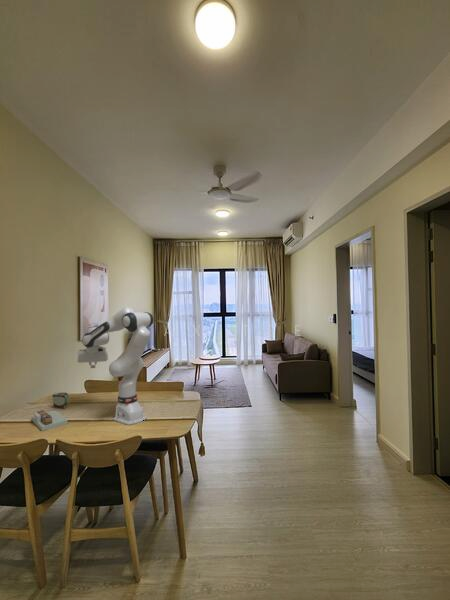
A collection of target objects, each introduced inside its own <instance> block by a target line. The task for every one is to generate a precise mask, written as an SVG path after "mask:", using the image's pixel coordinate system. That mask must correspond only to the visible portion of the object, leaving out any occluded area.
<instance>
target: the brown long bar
mask: <svg viewBox="0 0 450 600" xmlns="http://www.w3.org/2000/svg"><path fill="white" fill-rule="evenodd" d="M36 413H39V414H40V415H41V421H42V422H43V423H44V424H46V425H47V424H50V423H52V417H51V416H50V415H49V414H48V413H47V411H45V410H44V409H42V410H39V411H37V412H36Z"/></svg>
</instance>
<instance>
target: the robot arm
mask: <svg viewBox="0 0 450 600" xmlns="http://www.w3.org/2000/svg"><path fill="white" fill-rule="evenodd" d="M153 324H154V316H153V314H152V313H150V312H148V311H147V312H146V311H135V309H134V308H132V307H129V306H126V307H124V308H122V309H121V310H119V311H118V312H116V314H114V315H113V316H112V317H110V318H109V319H107V320H106V321H105V322H102V324H100V325H98V326H91V327H88V328H87V329H86V332H85V333H84V334H83V336H82V338H81V342H82V345H83V346H84V347H85V349H78V350H77V353H76V355H77V363H79V364H80V363H81V364H82V363H83V364H84V363H88V365H89V366H90V369H96V365H97V363H100V362H102V363H103V362H107V361H108V359H109V356H108V351H107V347H105V345H107V344H108V343H109V341H110V334H109V333H113V332H119V331H122V330H124V329H126V330H128V332H129V333H132V336H131V338H130V340H129V342H128V344H127V345H126V348H125V349H124V351H123V352H122V353H121V354H120V355H119V356H118V357H117V358H116V359H115V360H113V361H112V362H111V363H110V364H109V366H108V371H109V374H110V375H111V377H113V378H117V377H118V378H119V377H122V379H121V380H120V382H119V383H118V395H117V405H116V406H115V416H114V418H113V421H114V422H115V421H116V422H118V423H121V424H124V425H128V426H129V425H136V424H139V423H142V422H144V421H146V420H147V419H148V417H147V415H145V414H144V406H141V404H140V403H139V401H138V399H139V397H138V395H137V380H138V378H139V374H140V372H141V371H142V370H143V368H144V365H145V363H144V359H143V358H142V356H143V354H144V353H145V350H146V348H147V345H148V344H149V340H150V338H151V331H150V330H149V329H148V328H150V327H151V326H152V325H153ZM92 363H94V365H93V364H92ZM146 418H147V419H146ZM145 419H146V420H145ZM143 420H144V421H143Z"/></svg>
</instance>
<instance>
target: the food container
mask: <svg viewBox="0 0 450 600" xmlns="http://www.w3.org/2000/svg"><path fill="white" fill-rule="evenodd" d="M51 398H52V405H53V409H56V410H57V409H58V410H66V409H67V405H68V398H69V394H68V393H67V392H57V393H56V392H55V393H52V395H51Z"/></svg>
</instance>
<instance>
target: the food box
mask: <svg viewBox="0 0 450 600" xmlns="http://www.w3.org/2000/svg"><path fill="white" fill-rule="evenodd" d="M46 413H48V414H49V415H50V416H51V417H52V423H50V424H47V425H46V424H44V423H43V422H42V421H41V415H40V414H39V413H37V412H35V413H34V414H33V415H32V416H31V421H32V422H33V423H34V424H35V425H36V426H37V428H38V429H39V430H40V431H41V432H44V431H49V430H51V429H54V428H58V427H62V426H65V425H68V424H69V423H68V421H69V420H68V418H66V417H64V416H63V415H62V414H61V413H60V412H58V411H57V409H55V410H51V411H46Z"/></svg>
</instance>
